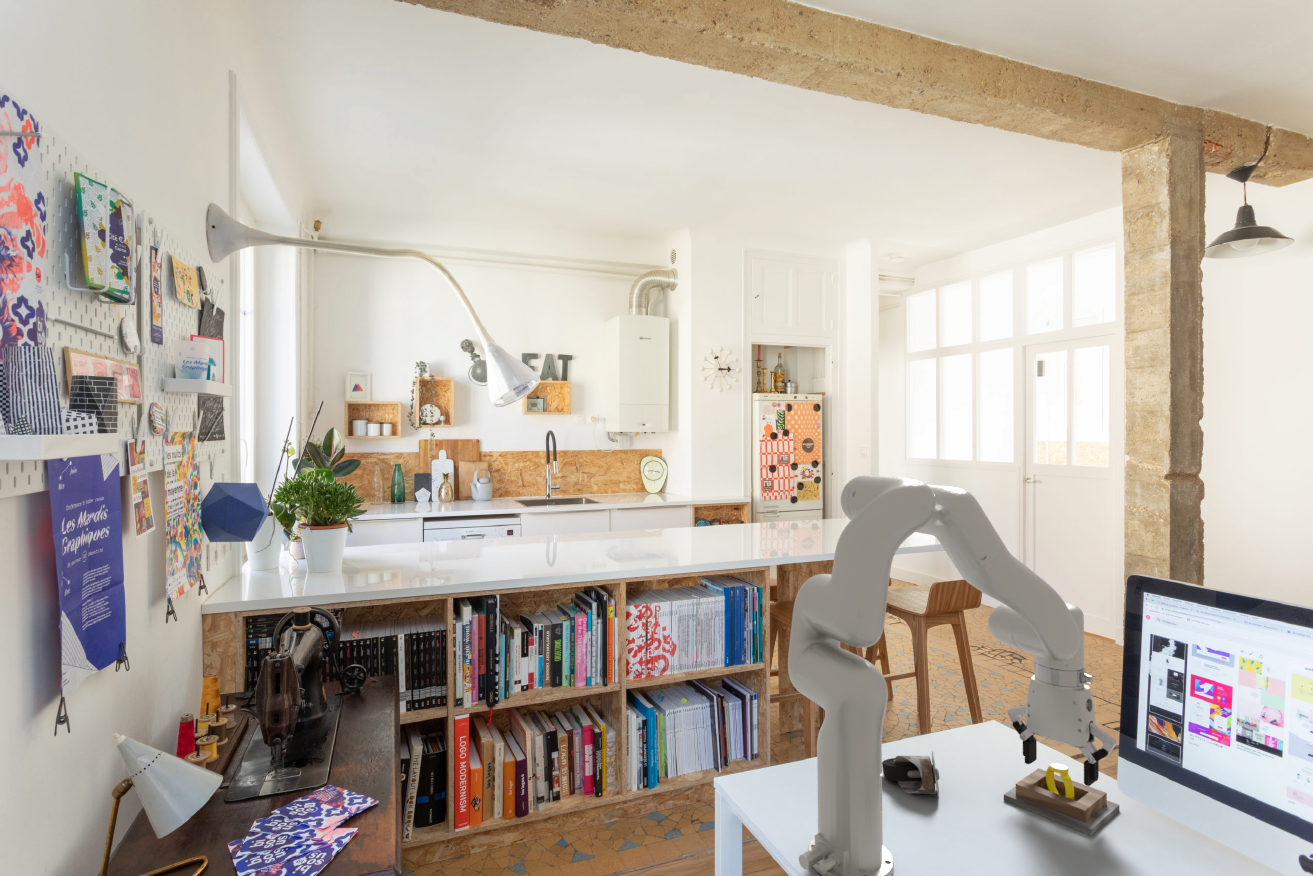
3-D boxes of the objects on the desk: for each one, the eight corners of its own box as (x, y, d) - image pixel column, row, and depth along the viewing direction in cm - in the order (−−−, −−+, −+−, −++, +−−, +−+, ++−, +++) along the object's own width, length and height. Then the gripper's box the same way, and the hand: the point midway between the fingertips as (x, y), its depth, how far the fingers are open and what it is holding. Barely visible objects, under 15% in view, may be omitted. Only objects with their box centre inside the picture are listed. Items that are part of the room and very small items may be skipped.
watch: (1042, 793, 123) (1040, 759, 123) (1057, 793, 123) (1055, 758, 123) (1063, 809, 117) (1061, 773, 117) (1079, 808, 117) (1077, 772, 117)
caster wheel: (887, 782, 134) (941, 783, 130) (883, 798, 123) (942, 799, 120) (881, 745, 135) (935, 745, 132) (877, 758, 125) (935, 758, 122)
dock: (1091, 836, 111) (1091, 817, 111) (1003, 800, 122) (1003, 783, 122) (1119, 810, 118) (1119, 793, 118) (1034, 779, 129) (1034, 763, 129)
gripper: (1123, 683, 115) (1124, 785, 115) (1018, 657, 129) (1018, 748, 129) (1106, 693, 111) (1106, 799, 111) (998, 666, 125) (999, 760, 125)
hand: (1059, 772), depth 120 cm, fingers open, 9 cm apart
